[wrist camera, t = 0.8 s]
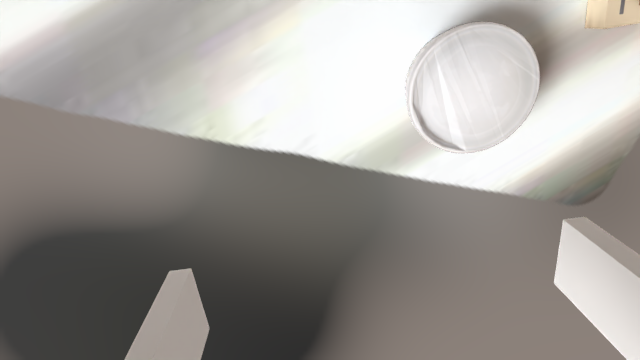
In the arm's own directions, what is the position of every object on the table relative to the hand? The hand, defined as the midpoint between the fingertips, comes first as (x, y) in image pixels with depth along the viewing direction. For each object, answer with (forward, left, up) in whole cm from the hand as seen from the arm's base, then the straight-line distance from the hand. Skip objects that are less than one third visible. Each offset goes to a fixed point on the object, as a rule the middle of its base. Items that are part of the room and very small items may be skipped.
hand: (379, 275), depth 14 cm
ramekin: (-1, +12, -27) cm, 29 cm away
